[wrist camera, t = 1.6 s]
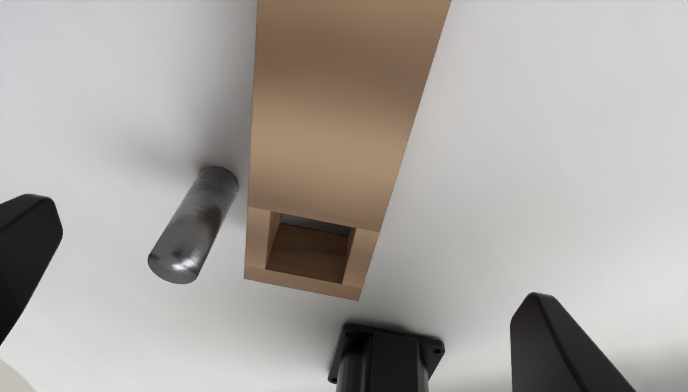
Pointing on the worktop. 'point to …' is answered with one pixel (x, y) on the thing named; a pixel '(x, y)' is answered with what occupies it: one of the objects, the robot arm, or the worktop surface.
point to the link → (331, 131)
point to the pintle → (194, 227)
